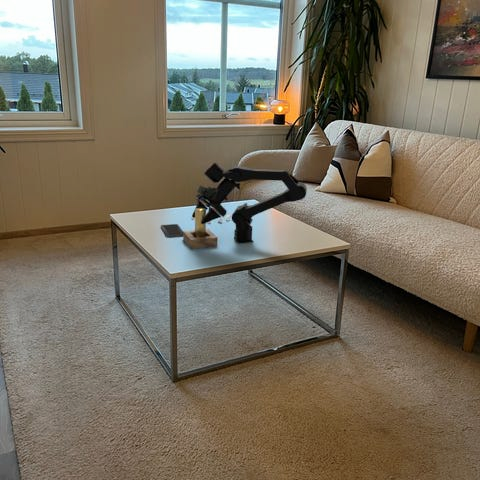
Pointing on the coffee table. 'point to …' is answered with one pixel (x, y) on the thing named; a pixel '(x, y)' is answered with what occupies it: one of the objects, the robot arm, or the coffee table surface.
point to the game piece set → (218, 220)
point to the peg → (200, 228)
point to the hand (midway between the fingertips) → (197, 220)
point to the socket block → (200, 239)
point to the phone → (172, 230)
